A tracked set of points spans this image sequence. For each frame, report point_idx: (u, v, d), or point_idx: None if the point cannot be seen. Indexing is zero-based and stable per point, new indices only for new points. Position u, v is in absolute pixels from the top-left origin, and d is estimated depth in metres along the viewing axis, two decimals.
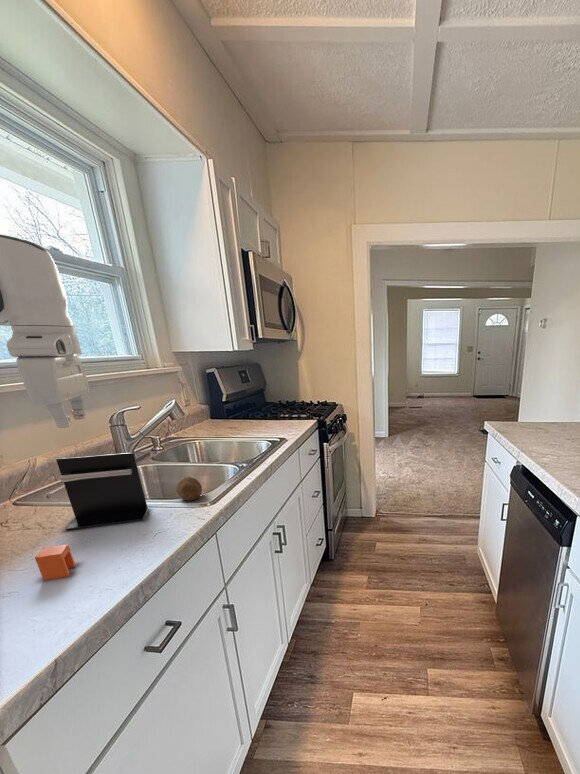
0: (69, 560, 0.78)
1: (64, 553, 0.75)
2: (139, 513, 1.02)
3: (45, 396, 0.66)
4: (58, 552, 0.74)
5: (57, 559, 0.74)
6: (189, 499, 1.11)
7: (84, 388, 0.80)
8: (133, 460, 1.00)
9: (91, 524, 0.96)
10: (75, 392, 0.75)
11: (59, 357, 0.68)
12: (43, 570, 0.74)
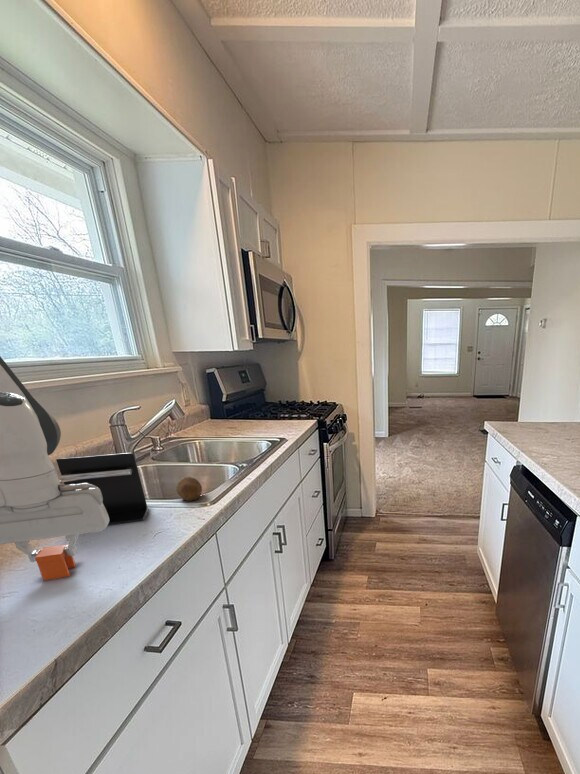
0: (69, 560, 0.78)
1: (64, 553, 0.75)
2: (139, 513, 1.02)
3: None
4: (58, 552, 0.74)
5: (57, 559, 0.74)
6: (189, 499, 1.11)
7: (80, 529, 0.74)
8: (133, 460, 1.00)
9: None
10: (40, 535, 0.72)
11: None
12: (43, 570, 0.74)
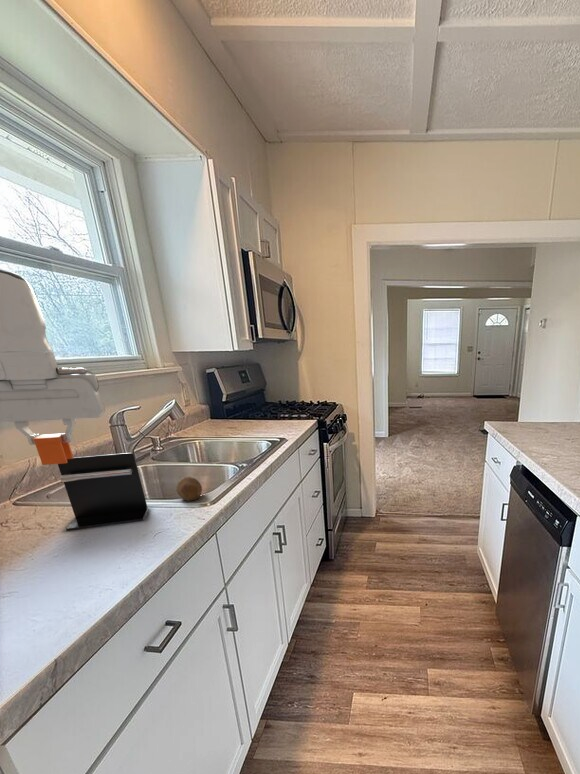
0: (67, 449, 0.81)
1: (61, 438, 0.78)
2: (139, 513, 1.02)
3: None
4: (56, 436, 0.77)
5: (55, 442, 0.77)
6: (189, 499, 1.11)
7: (76, 413, 0.77)
8: (133, 460, 1.00)
9: (91, 524, 0.96)
10: (38, 415, 0.75)
11: None
12: (41, 452, 0.77)
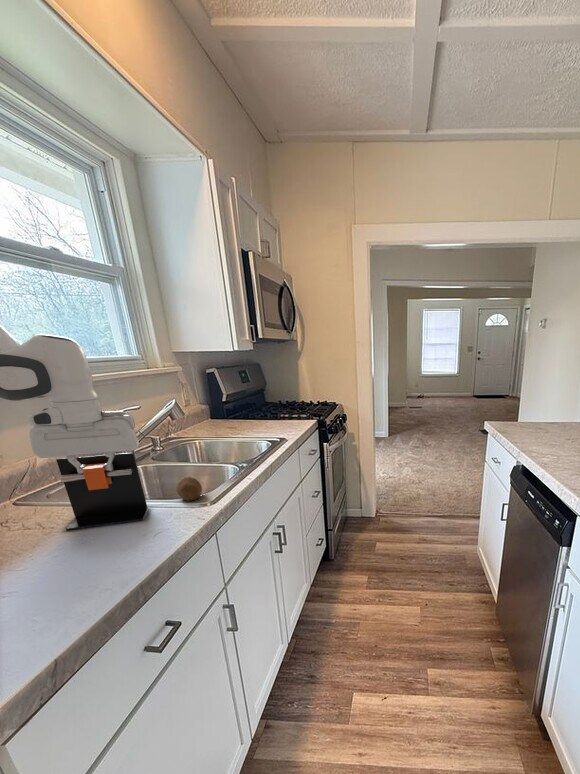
0: None
1: (104, 468, 0.95)
2: (139, 513, 1.02)
3: None
4: (100, 466, 0.94)
5: (99, 471, 0.94)
6: (189, 499, 1.11)
7: (117, 447, 0.94)
8: (133, 460, 1.00)
9: (91, 524, 0.96)
10: (87, 450, 0.92)
11: (45, 425, 0.87)
12: (88, 480, 0.94)
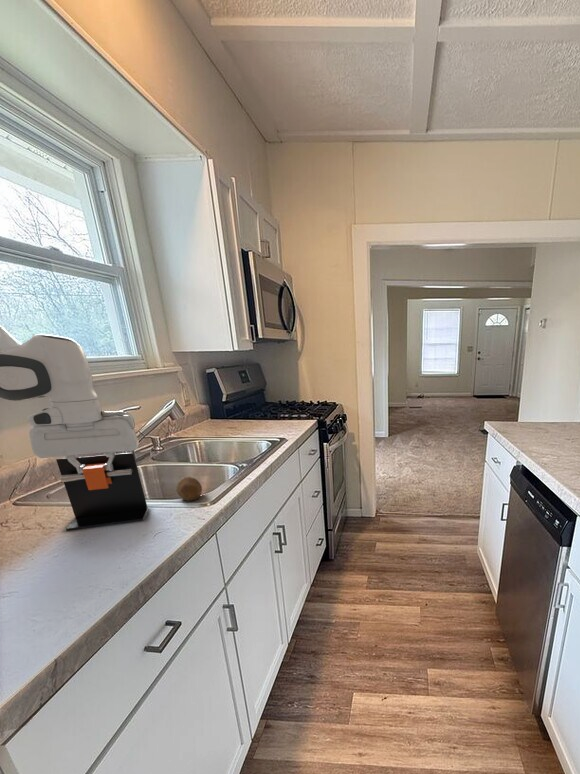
0: None
1: (104, 468, 0.95)
2: (139, 513, 1.02)
3: None
4: (100, 466, 0.94)
5: (99, 471, 0.94)
6: (189, 499, 1.11)
7: (117, 447, 0.94)
8: (133, 460, 1.00)
9: (91, 524, 0.96)
10: (86, 450, 0.92)
11: (45, 425, 0.87)
12: (88, 480, 0.94)
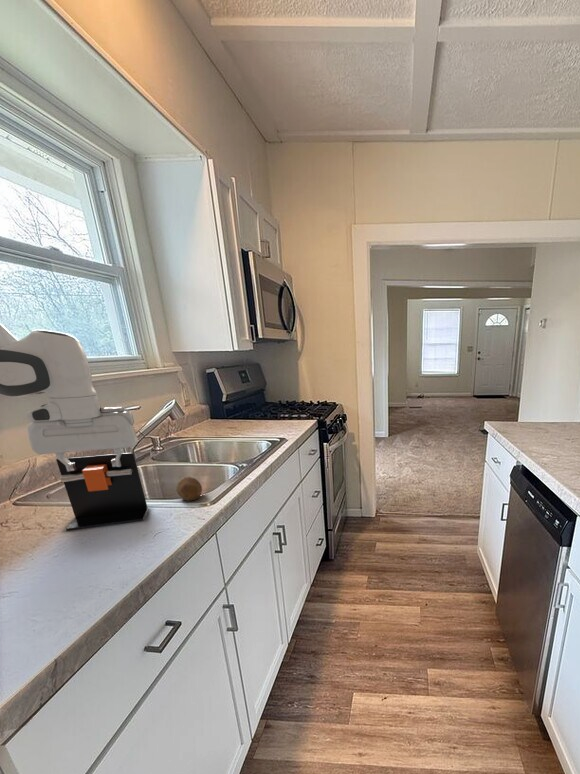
0: None
1: (104, 469, 0.95)
2: (139, 513, 1.02)
3: None
4: (100, 468, 0.94)
5: (99, 473, 0.94)
6: (189, 499, 1.11)
7: (116, 444, 0.93)
8: (133, 460, 1.00)
9: (91, 524, 0.96)
10: (85, 447, 0.91)
11: (44, 422, 0.86)
12: (88, 481, 0.94)
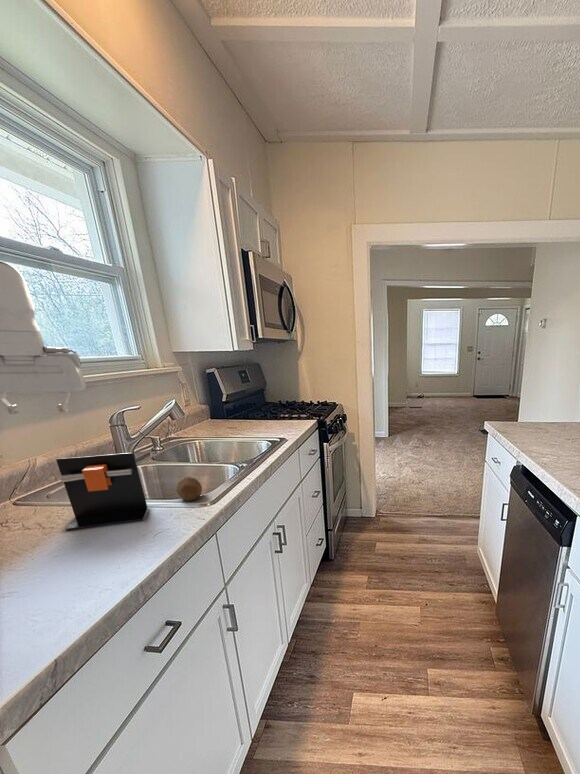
0: None
1: (104, 469, 0.95)
2: (139, 513, 1.02)
3: None
4: (100, 468, 0.94)
5: (99, 473, 0.94)
6: (189, 499, 1.11)
7: (60, 386, 0.89)
8: (133, 460, 1.00)
9: (91, 524, 0.96)
10: (27, 387, 0.87)
11: None
12: (88, 481, 0.94)
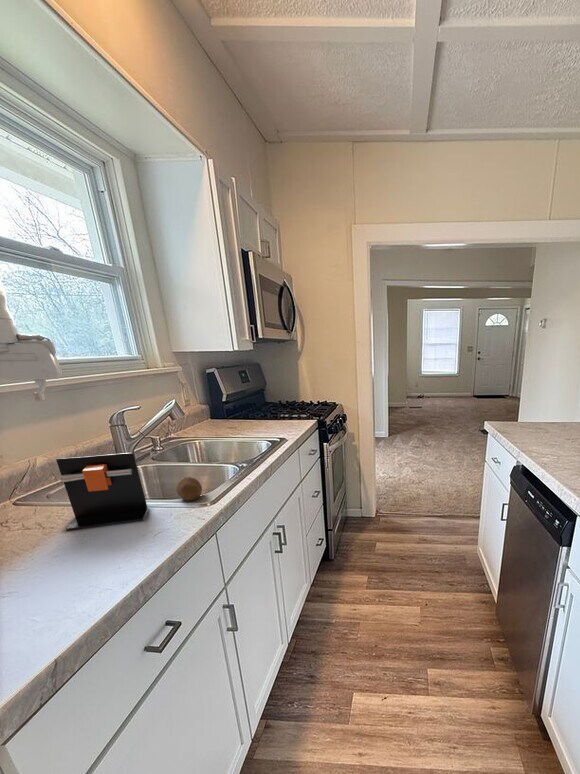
0: None
1: (104, 469, 0.95)
2: (139, 513, 1.02)
3: None
4: (100, 468, 0.94)
5: (99, 473, 0.94)
6: (189, 499, 1.11)
7: (35, 374, 0.88)
8: (133, 460, 1.00)
9: (91, 524, 0.96)
10: (2, 376, 0.86)
11: None
12: (88, 481, 0.94)
